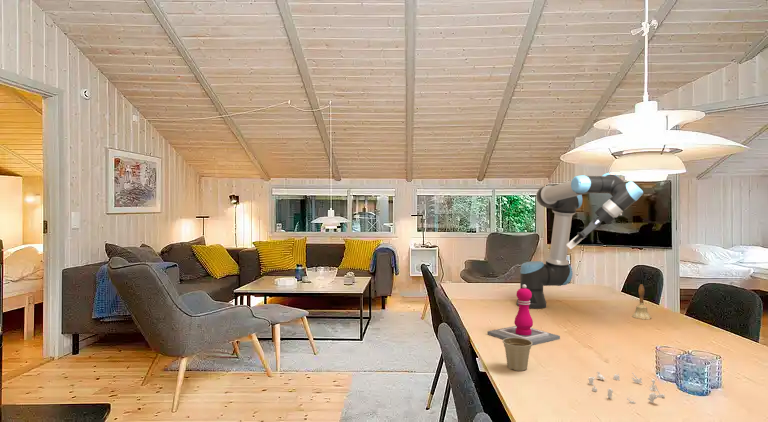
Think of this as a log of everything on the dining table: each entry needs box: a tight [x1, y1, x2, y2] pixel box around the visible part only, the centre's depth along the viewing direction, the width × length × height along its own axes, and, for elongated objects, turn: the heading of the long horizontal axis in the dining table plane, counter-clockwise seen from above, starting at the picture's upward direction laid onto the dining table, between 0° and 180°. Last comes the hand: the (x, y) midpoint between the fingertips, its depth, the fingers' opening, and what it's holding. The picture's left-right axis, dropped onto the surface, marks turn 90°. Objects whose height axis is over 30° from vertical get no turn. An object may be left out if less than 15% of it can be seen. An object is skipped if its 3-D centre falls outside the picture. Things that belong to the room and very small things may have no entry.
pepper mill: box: [513, 284, 534, 335], centre depth 189 cm, size 7×7×20 cm
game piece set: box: [587, 371, 666, 405], centre depth 134 cm, size 19×20×4 cm
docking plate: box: [487, 325, 561, 347], centre depth 189 cm, size 20×20×2 cm
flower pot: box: [502, 338, 533, 372], centre depth 152 cm, size 9×9×9 cm
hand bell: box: [631, 283, 652, 320], centre depth 224 cm, size 8×8×16 cm
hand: (570, 246), depth 205 cm, fingers open, 13 cm apart
